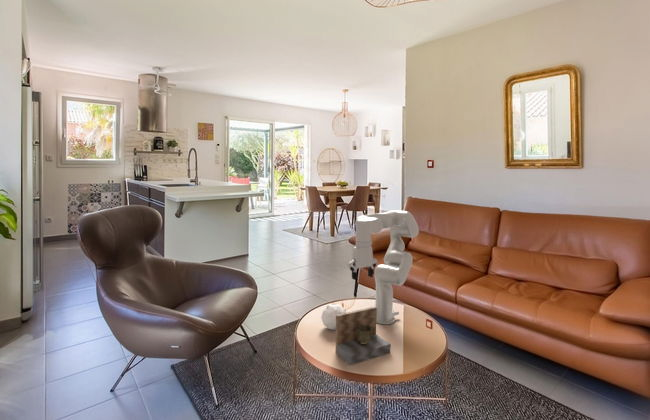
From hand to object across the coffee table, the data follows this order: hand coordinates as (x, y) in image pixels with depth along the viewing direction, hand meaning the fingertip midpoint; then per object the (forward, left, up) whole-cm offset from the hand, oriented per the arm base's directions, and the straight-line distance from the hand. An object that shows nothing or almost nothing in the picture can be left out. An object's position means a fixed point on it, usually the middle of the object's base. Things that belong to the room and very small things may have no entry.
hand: (362, 277), depth 180 cm
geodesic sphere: (+8, -14, -31) cm, 34 cm away
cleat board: (+9, +14, -30) cm, 35 cm away
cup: (+9, +15, -26) cm, 31 cm away
